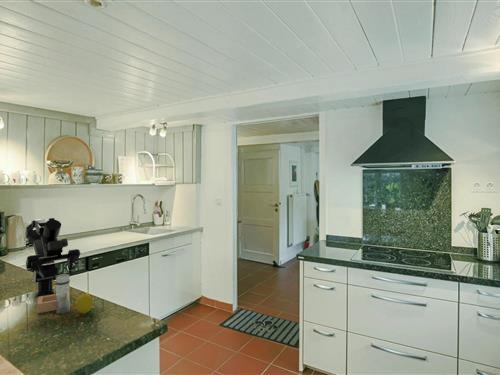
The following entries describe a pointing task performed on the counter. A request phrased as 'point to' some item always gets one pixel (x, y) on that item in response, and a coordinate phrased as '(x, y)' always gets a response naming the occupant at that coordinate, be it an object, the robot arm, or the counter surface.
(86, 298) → the lemon
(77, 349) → the counter surface
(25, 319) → the counter surface
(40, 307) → the terracotta collar
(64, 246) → the robot arm
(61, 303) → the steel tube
